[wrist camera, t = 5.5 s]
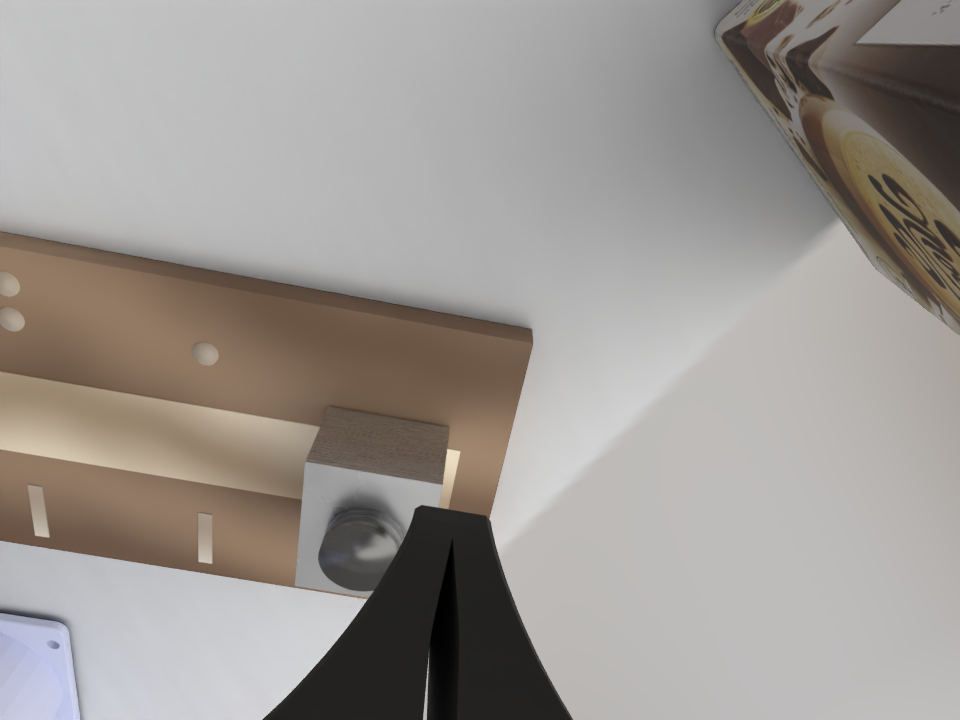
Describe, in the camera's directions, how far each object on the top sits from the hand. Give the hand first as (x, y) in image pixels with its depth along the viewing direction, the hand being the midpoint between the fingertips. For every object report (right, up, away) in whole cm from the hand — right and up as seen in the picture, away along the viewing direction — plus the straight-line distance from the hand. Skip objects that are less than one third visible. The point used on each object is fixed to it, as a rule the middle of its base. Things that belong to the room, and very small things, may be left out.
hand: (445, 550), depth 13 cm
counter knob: (-3, 0, +11) cm, 11 cm away
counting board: (-12, +2, +11) cm, 16 cm away
